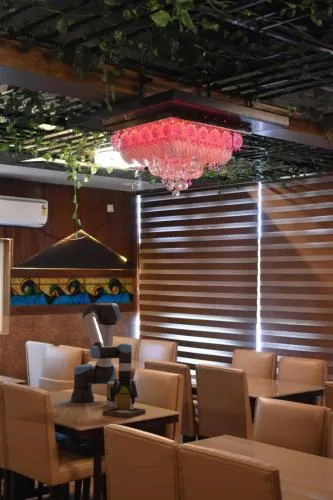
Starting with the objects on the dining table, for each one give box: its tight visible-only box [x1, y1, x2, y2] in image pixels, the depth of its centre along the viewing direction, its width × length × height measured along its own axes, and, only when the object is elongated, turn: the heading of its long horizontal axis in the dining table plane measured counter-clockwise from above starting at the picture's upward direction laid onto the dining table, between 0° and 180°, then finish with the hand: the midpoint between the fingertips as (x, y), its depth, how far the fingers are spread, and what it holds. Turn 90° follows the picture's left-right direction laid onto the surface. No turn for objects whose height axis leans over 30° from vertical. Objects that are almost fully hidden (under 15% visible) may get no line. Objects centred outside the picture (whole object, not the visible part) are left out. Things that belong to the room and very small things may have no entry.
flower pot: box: [116, 392, 131, 410], centre depth 391 cm, size 9×9×9 cm
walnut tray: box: [102, 407, 147, 419], centre depth 391 cm, size 18×18×2 cm
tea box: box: [106, 381, 132, 408], centre depth 420 cm, size 15×10×15 cm, turn 108°
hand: (124, 408), depth 391 cm, fingers closed on flower pot, 10 cm apart
